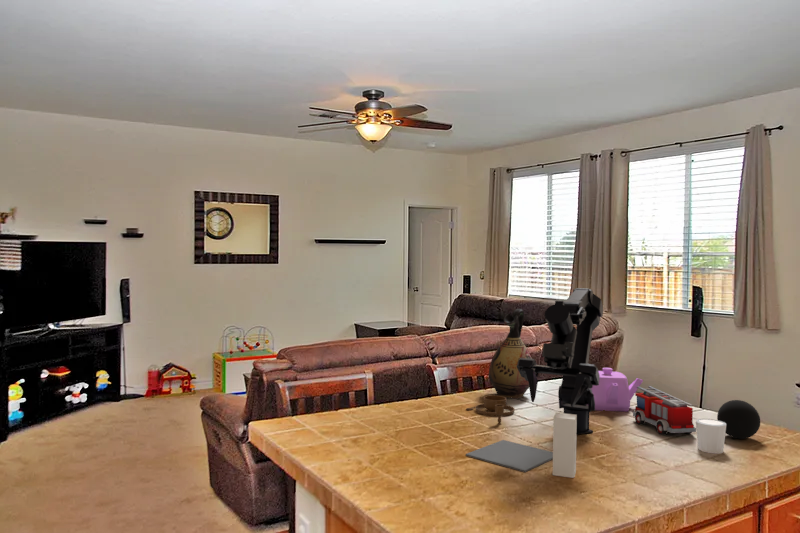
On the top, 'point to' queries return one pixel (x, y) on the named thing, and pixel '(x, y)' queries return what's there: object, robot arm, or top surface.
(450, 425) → the top surface
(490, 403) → the place setting
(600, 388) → the teakettle
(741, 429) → the decorative ball
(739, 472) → the top surface
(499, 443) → the charcoal rubber mat
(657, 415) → the toy fire truck
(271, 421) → the top surface
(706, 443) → the white short cylinder
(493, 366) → the ceramic jug
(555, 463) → the off-white post
